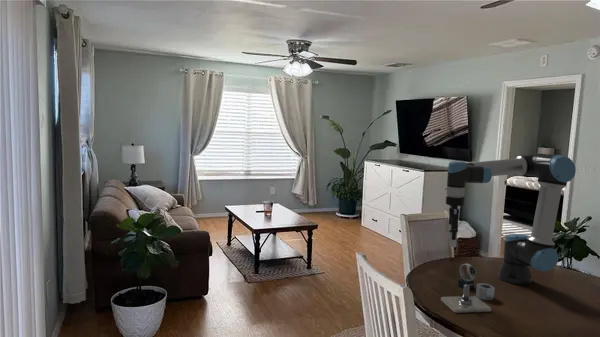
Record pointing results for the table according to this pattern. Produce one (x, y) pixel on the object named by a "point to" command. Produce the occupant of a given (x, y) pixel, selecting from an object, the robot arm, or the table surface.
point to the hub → (485, 291)
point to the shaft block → (465, 302)
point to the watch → (472, 273)
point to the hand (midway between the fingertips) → (451, 242)
